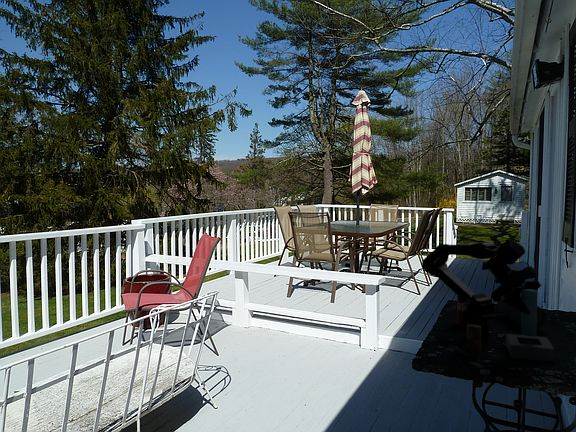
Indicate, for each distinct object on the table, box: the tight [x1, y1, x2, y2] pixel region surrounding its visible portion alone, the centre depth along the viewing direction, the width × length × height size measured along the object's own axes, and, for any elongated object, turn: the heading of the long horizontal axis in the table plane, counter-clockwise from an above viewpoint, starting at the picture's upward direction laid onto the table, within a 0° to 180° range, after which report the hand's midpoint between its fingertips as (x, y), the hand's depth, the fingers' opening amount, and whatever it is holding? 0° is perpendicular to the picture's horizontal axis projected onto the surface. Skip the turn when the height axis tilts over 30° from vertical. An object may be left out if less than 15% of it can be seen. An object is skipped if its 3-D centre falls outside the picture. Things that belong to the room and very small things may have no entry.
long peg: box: [520, 289, 539, 336], centre depth 143 cm, size 4×4×14 cm
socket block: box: [505, 333, 556, 363], centre depth 144 cm, size 12×12×4 cm
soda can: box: [456, 294, 468, 329], centre depth 174 cm, size 7×7×12 cm
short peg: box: [466, 324, 482, 353], centre depth 147 cm, size 4×4×8 cm
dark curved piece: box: [497, 296, 548, 330], centre depth 176 cm, size 23×9×10 cm, turn 179°
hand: (533, 313), depth 142 cm, fingers closed on long peg, 4 cm apart
